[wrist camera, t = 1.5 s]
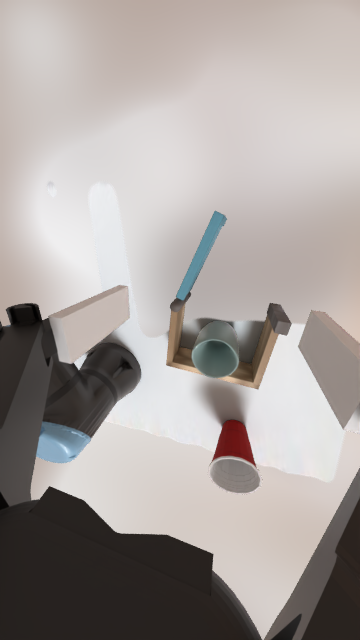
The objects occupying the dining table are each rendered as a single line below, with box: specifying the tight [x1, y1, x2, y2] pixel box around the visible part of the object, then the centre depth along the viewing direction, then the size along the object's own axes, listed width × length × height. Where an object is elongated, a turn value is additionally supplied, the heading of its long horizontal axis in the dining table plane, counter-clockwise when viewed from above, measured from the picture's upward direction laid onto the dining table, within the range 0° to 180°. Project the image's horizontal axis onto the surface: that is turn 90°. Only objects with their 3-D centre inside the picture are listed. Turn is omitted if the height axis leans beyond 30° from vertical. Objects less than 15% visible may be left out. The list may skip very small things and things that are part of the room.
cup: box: [191, 320, 239, 378], centre depth 36 cm, size 8×8×10 cm
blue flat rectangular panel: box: [176, 211, 227, 301], centre depth 32 cm, size 14×1×7 cm, turn 156°
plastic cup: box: [208, 420, 262, 494], centre depth 45 cm, size 11×11×12 cm
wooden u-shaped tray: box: [166, 291, 292, 389], centre depth 37 cm, size 19×15×8 cm
